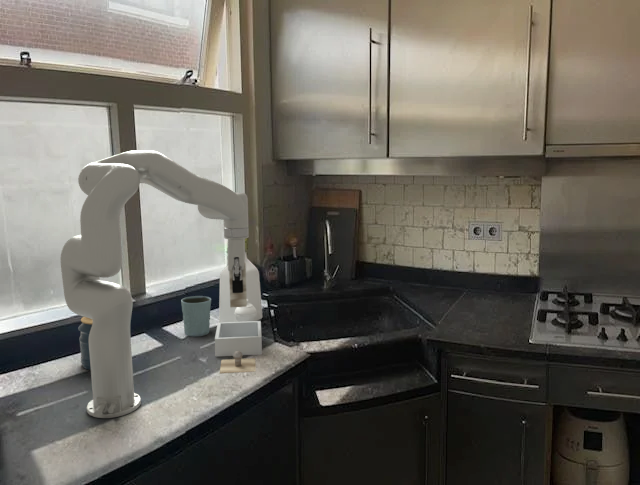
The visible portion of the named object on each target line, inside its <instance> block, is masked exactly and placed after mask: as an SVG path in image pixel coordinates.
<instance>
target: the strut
mask: <svg viewBox="0 0 640 485" xmlns="http://www.w3.org/2000/svg"><path fill="white" fill-rule="evenodd" d="M234 270H235V268H234ZM239 270H240V268H239ZM234 273H235V272H234ZM239 273H240V272H239ZM232 280H233V268H232V270H230V271H229V282H230V307H247V294H246V263H244V270H242V280H243V293H233V290H232Z"/></svg>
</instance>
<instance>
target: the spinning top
mask: <svg viewBox="0 0 640 485" xmlns="http://www.w3.org/2000/svg"><path fill="white" fill-rule="evenodd" d="M256 315H257V311H256V308H255V307H254V306H253V305H252V304H249V303H248V300H247V307H237V308H236V309H235V317H236V319H237V321H238V322H246V321H254V320H255V318H256Z"/></svg>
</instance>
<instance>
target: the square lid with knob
mask: <svg viewBox="0 0 640 485" xmlns="http://www.w3.org/2000/svg"><path fill="white" fill-rule="evenodd" d="M232 357H233V358H232V359H231V358H230V359H229V358H228V359H221V361H220V368H219V374H233V373H235V374H236V373H237V374H238V373H251V372H252V373H253V372H254V373H256V371H257V370H256V368H257V366H256V357H254V358H253V357H252V358H250V357H249V358H243V355H242V353H241V352H240V351H236V352H235V353H234V355H233V356H232Z"/></svg>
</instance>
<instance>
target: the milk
mask: <svg viewBox="0 0 640 485" xmlns="http://www.w3.org/2000/svg"><path fill="white" fill-rule="evenodd" d="M245 263H246V294H247V300H248V303H249V304H252V305H253V306H254V307H255V308H256V311H257V315H256V318H255V320H254V321H260V320H262V318H263V308H262V306H263V305H262V295H261V294H262V293H261V282H260V280H261V279H260V271H259V270H258V268H257V267H256V266H255V264H253V263H252V262H251V260H250V259H248V257H247V252H246V251H245ZM218 295H219V298H218V299H219V300H218V301H219V302H218V304H219V306H218V307H219V308H218V309H219V310H218V323H221V322H238V321H237V319H236V317H235V309H236V308H237V307H230V282H229V271H228V265H226V266H225V267H224V268H223V269H222V270H221V272H220V273H219V294H218Z"/></svg>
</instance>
